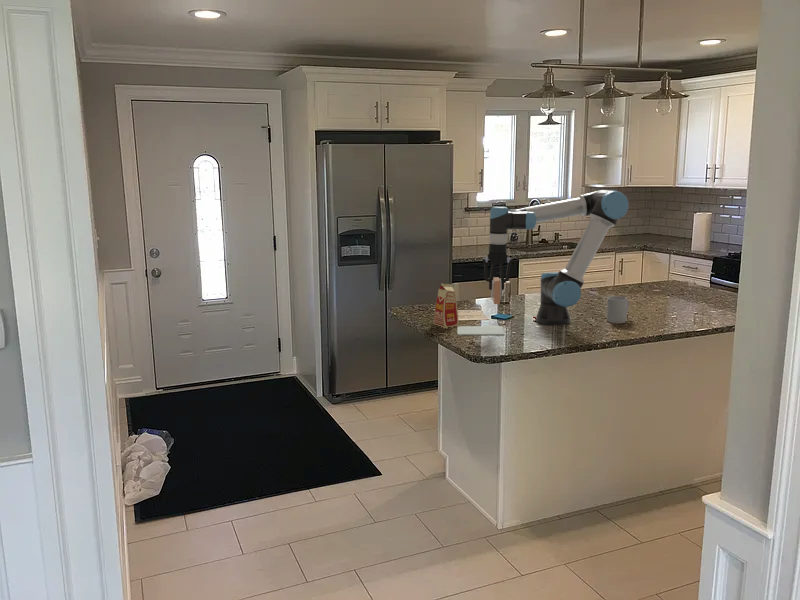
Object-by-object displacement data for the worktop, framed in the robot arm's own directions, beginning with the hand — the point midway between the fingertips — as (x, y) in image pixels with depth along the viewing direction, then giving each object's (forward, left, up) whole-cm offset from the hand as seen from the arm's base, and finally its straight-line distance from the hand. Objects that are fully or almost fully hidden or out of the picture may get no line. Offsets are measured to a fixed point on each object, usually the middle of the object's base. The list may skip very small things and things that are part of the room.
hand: (496, 297), depth 295 cm
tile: (0, 0, -2) cm, 2 cm away
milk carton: (+22, -12, -16) cm, 29 cm away
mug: (-57, -19, -16) cm, 62 cm away
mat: (+7, 0, -15) cm, 17 cm away
